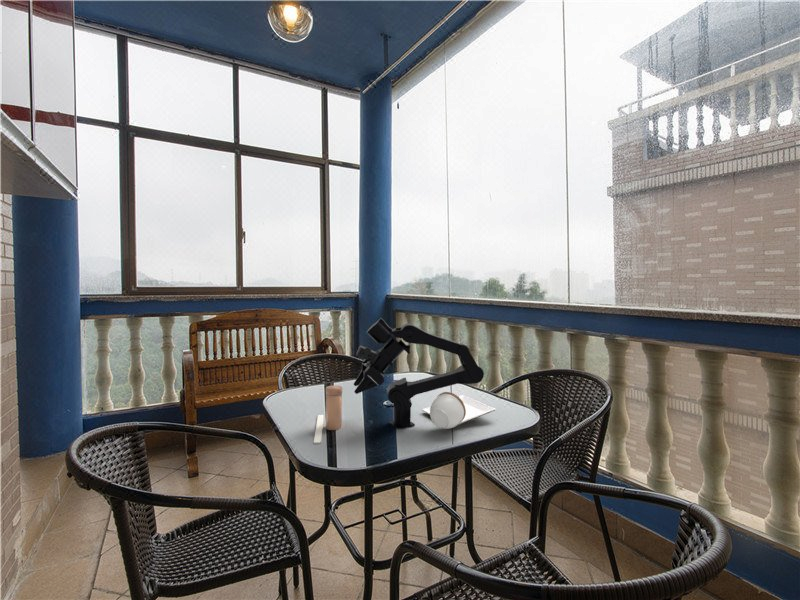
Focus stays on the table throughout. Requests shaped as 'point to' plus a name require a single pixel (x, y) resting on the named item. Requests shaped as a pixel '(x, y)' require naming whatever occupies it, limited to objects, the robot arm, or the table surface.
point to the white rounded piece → (447, 410)
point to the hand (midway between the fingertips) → (354, 388)
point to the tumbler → (333, 407)
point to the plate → (470, 408)
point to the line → (319, 429)
